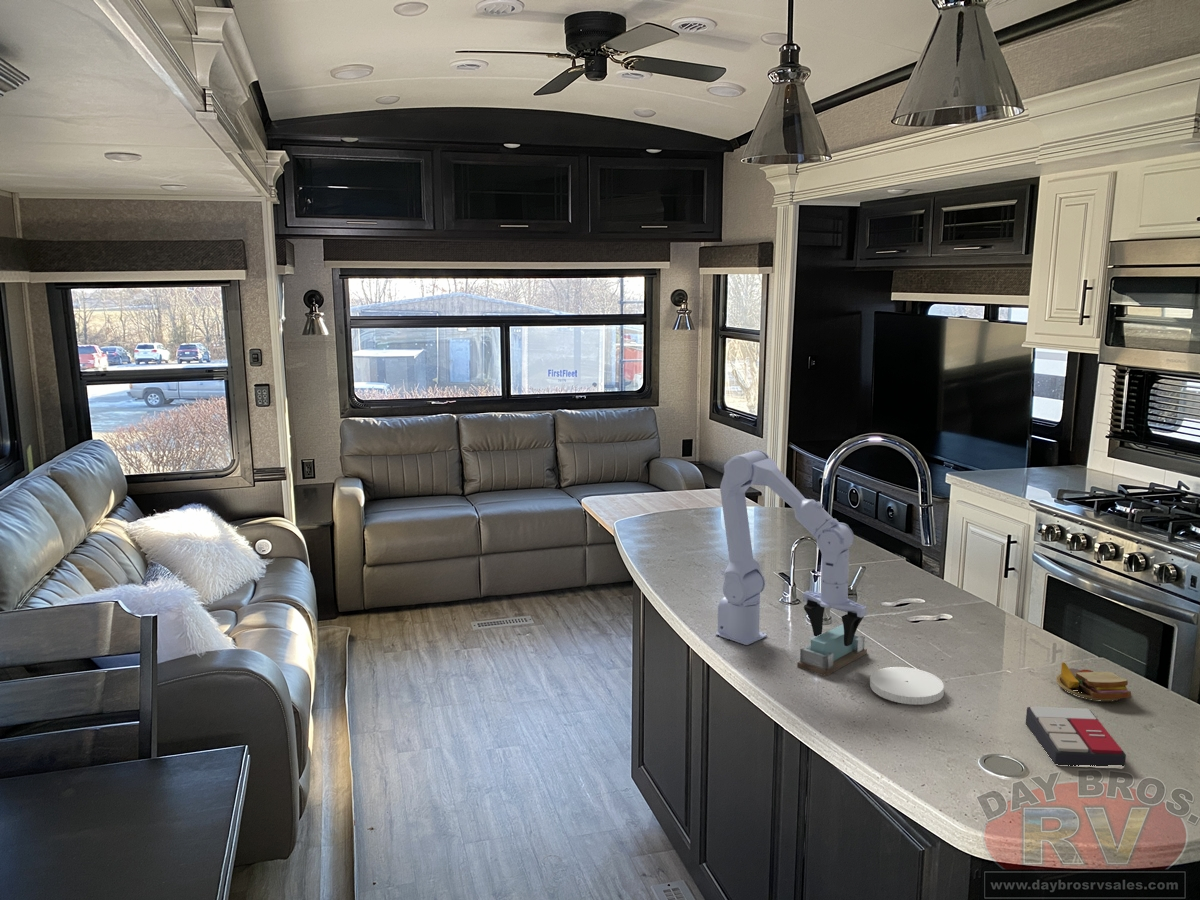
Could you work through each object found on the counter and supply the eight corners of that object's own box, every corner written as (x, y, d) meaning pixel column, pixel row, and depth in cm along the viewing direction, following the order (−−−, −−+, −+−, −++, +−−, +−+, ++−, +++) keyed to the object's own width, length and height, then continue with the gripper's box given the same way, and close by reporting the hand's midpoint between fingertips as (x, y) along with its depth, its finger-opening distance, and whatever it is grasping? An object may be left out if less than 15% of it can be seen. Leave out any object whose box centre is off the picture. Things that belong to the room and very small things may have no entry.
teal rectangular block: (810, 661, 190) (810, 639, 189) (840, 645, 198) (841, 624, 197) (824, 666, 188) (824, 644, 187) (854, 649, 196) (855, 628, 195)
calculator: (1057, 748, 148) (1026, 702, 163) (1054, 771, 149) (1024, 723, 164) (1127, 751, 147) (1090, 705, 161) (1124, 774, 148) (1088, 726, 162)
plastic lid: (876, 707, 171) (876, 695, 171) (864, 676, 185) (865, 665, 185) (951, 710, 169) (952, 698, 169) (934, 679, 183) (934, 667, 183)
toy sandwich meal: (1113, 678, 181) (1115, 656, 181) (1139, 709, 168) (1142, 685, 168) (1047, 675, 184) (1049, 653, 183) (1069, 704, 171) (1070, 681, 170)
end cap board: (797, 666, 190) (797, 662, 190) (839, 644, 201) (839, 640, 201) (825, 676, 185) (825, 671, 185) (866, 653, 196) (866, 649, 196)
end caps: (800, 661, 190) (800, 648, 190) (838, 641, 200) (839, 629, 200) (825, 670, 185) (826, 657, 185) (864, 649, 196) (864, 636, 195)
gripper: (795, 576, 192) (794, 635, 195) (854, 592, 182) (852, 654, 184) (813, 569, 197) (812, 627, 199) (872, 584, 187) (870, 645, 189)
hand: (832, 639), depth 192 cm, fingers open, 7 cm apart
